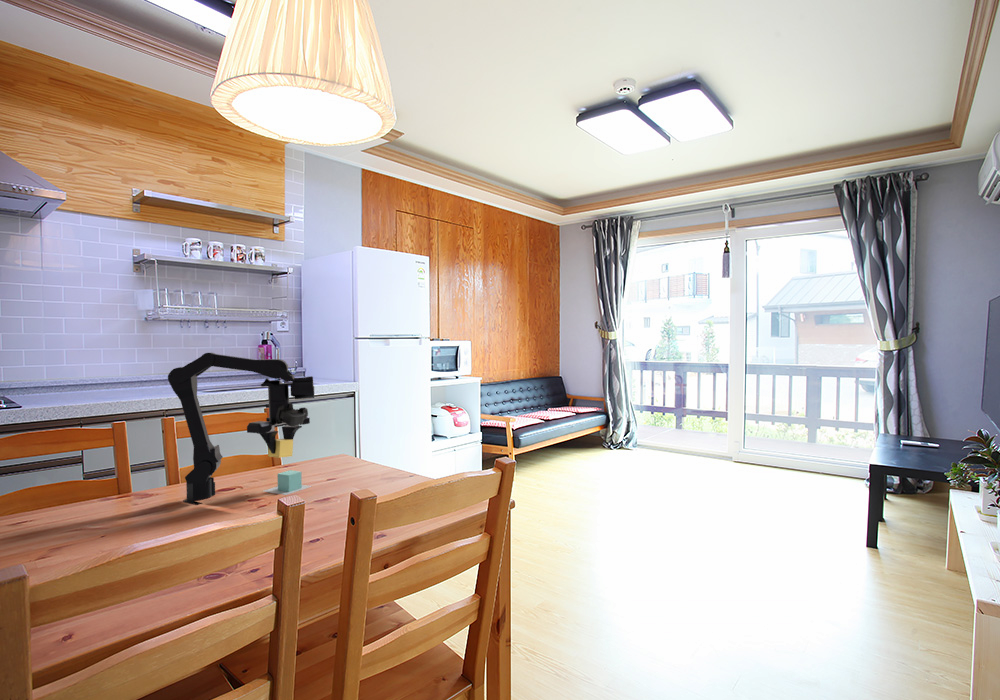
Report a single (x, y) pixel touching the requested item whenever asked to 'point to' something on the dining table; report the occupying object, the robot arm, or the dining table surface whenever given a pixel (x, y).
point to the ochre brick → (282, 448)
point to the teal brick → (289, 481)
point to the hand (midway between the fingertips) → (280, 451)
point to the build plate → (275, 490)
